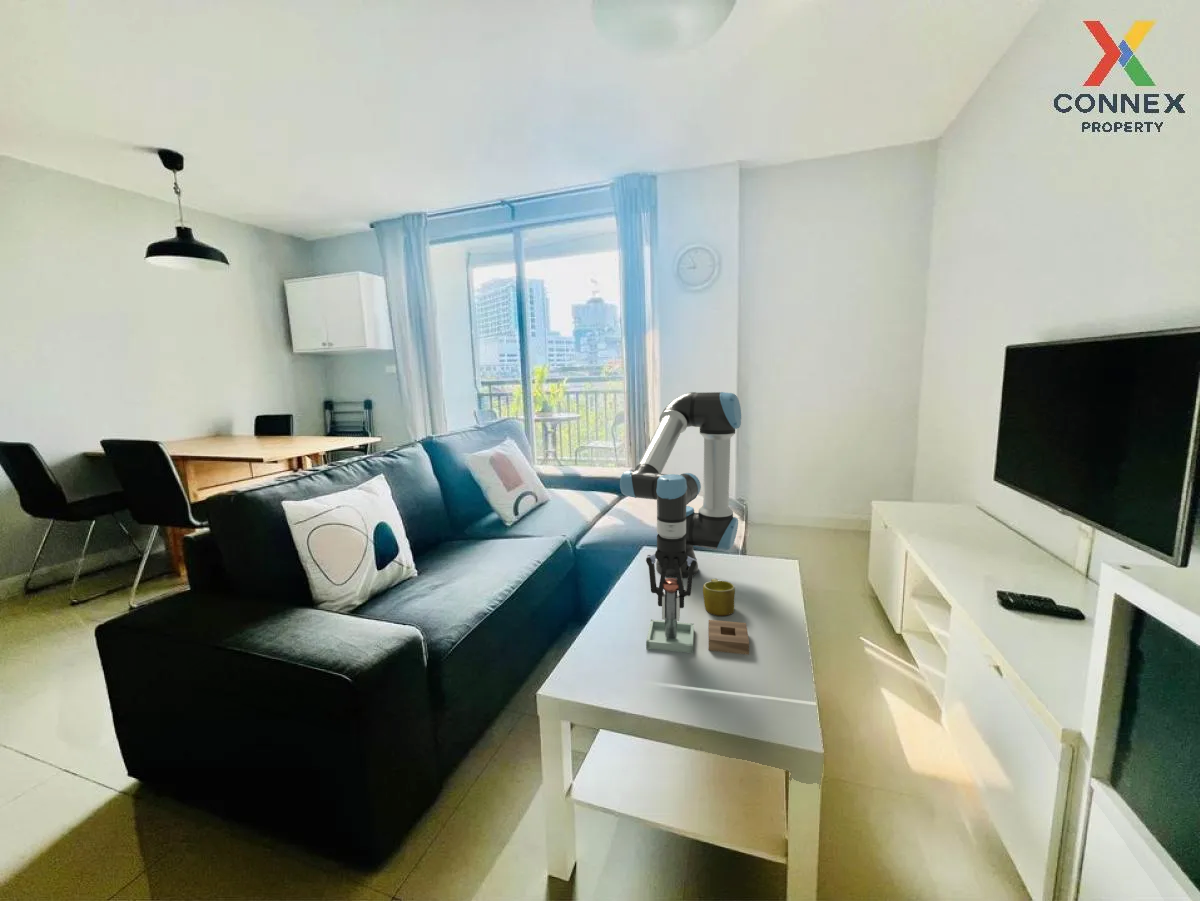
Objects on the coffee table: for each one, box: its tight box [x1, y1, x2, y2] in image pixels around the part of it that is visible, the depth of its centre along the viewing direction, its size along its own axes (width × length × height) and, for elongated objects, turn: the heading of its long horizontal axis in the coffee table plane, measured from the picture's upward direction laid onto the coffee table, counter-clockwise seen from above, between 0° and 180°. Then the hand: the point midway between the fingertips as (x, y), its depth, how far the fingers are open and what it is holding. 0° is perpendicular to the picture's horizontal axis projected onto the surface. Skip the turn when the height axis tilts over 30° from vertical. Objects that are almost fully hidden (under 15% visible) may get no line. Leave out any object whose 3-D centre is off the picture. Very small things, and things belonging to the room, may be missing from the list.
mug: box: [702, 578, 736, 617], centre depth 142 cm, size 12×10×10 cm
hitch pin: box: [663, 577, 679, 639], centre depth 125 cm, size 5×5×16 cm
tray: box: [645, 619, 695, 654], centre depth 126 cm, size 11×12×2 cm
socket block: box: [707, 619, 750, 656], centre depth 124 cm, size 10×10×4 cm
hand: (670, 617), depth 125 cm, fingers closed on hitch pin, 3 cm apart
